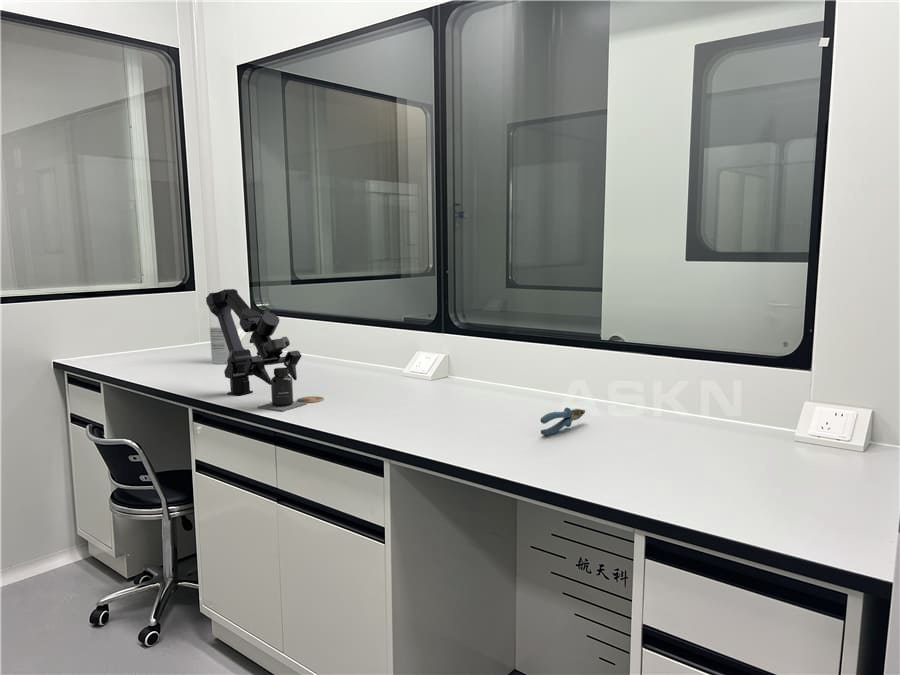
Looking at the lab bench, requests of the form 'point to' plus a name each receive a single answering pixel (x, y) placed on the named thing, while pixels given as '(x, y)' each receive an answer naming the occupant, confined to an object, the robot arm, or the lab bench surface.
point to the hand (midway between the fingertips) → (283, 381)
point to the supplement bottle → (282, 388)
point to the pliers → (567, 420)
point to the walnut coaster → (310, 399)
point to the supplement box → (219, 345)
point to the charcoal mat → (282, 408)
